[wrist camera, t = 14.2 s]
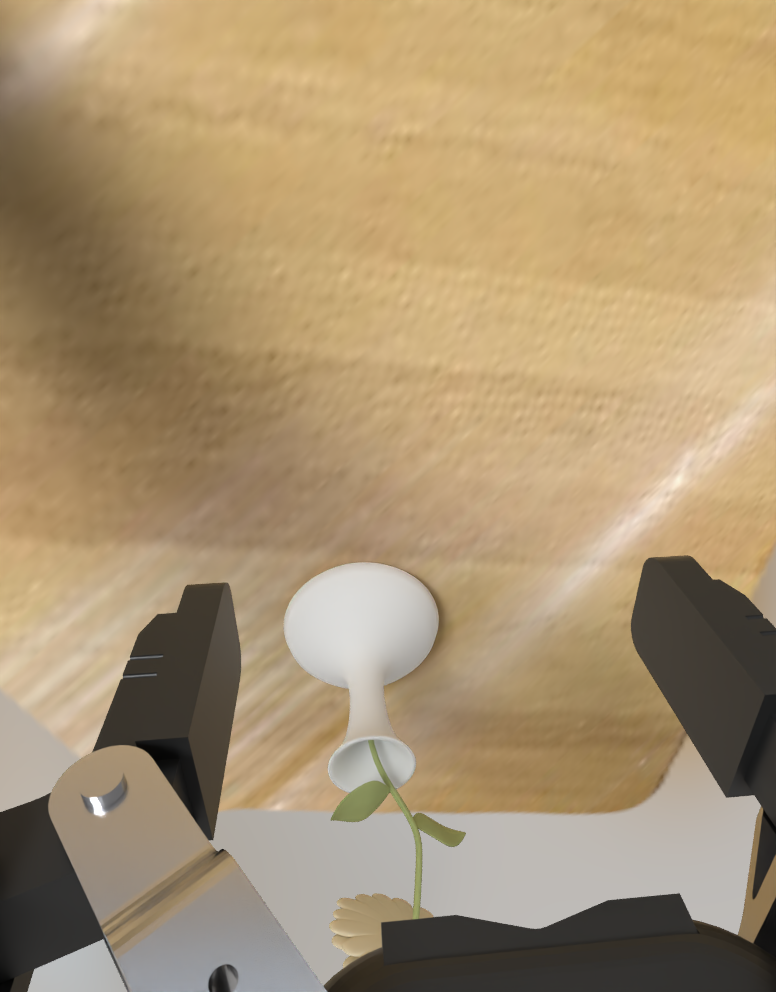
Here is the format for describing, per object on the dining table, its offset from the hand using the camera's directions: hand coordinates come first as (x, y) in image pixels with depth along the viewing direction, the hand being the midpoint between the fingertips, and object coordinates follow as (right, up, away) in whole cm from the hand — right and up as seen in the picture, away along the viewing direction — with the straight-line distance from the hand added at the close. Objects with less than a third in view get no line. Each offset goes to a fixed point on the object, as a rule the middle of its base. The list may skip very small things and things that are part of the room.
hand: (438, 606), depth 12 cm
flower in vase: (-3, -7, +36) cm, 37 cm away
